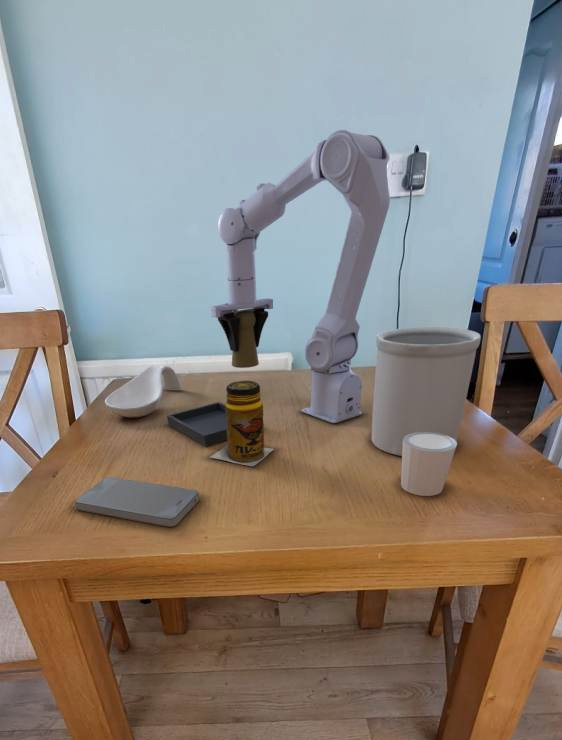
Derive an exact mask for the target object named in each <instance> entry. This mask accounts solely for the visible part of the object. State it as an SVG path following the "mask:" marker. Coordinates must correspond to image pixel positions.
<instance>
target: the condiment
mask: <svg viewBox="0 0 562 740" xmlns="http://www.w3.org/2000/svg"><path fill="white" fill-rule="evenodd" d="M225 390H226V401H225V403H224V404H225V411H226V427H227V440H226V441H227V442H226V443H227V444H226V445H225V446H224V447H223V448H221V449H219V451H216V452H215V453H214V454H212V455H211V456H210V457H209V458H210V459H215V460H221V461H226V462H230V463H233V464H238V465H243V466H247V467H255V466H256V465H257V464H259V463H260V462H261V461H263V460H264V459H265V458H266V457H267V456H269V454H270V453H272V451H274V448H271V447H270V448H269V447H265V431H264V430H265V427H264V425H265V424H264V403H263V400H262V399H261V386H260V384H259V383H258V382H256V381H253V380H238V381H233V382H231V383H230V382H229V384H228V385H227V386H226V389H225Z"/></svg>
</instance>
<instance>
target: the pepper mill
mask: <svg viewBox="0 0 562 740" xmlns="http://www.w3.org/2000/svg"><path fill="white" fill-rule="evenodd" d="M234 316H236V317H237V318H240V323H239V331H238V342H239V348H238V351H236V352H235V351H232V353H231V356H232V357H231V366H232V367H233V368H239V369H244V368H245V369H247V368H254V367H257V366H258V365H259V364H260V363H259V357H258V356H259V355H258V350H257V347H256V343H255V336H254V330H253V326H254V325H255V315H254V313H253V312H251V311H242V312H239V313H237V314H234Z"/></svg>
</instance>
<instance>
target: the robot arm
mask: <svg viewBox="0 0 562 740" xmlns="http://www.w3.org/2000/svg"><path fill="white" fill-rule="evenodd" d="M390 160H391V156H390V154H389V152H388V151H387V148H386V147H385V145H384V143H383V141H382V140H381V139H380V138H379V137H378V136H376V135H374V134H373V135H372V134H361V133H356V132H351V131H349V130H347V129H339V130H335V131H334V132H333V133H331V134H330V135H329V136H328V137H327V139H323V140H321V141H320V142H318V143H317V145H316V146H315V148H314V150H313V151H312V152H311V153H310V154H309V155H308V156H306V157H305V158H304V159H303V160H302V161H301V162H300V163H299V164H298V165H296V166H295V167H294V168H293V169H292V170H291V171H290V172H289V173H287V174H286V175H285V176H284V177H283V178H282V179H281V180H280V181H279V182H278V183H277V184H274V183H271V182H267V183H263V182H261V183H259V184H258V185H257V186H256V191H254V193H252V194H250V196H249V197H248V198H246V199H241V200H240V201H239V202H238V206H237V207H236V208H234V207H227V208H225V209H224V210H223V212H222V213H221V214H220V216H219V218H218V223H217V228H218V229H217V230H218V234H219V237H220V239H221V240H222V242H223V243H225V258H226V275H227V291H228V302H227V303H226V302H225V303H222V304H218V305H214V306H210V315H211V317H212V318H217V322H218V323H219V324H220V326H221V328H222V329H223V331H224V333H225V334H224V335H225V336H226V340H227V342H228V346H229V350H230V351H232V352H233V351H235V352H236V351H238V348H239V342H238V331H239V323H240V318H237V317H236V316H234V314H237V313H239V312H242V311H251V312H253V313H254V315H255V325H254V326H253V330H254V336H255V343H256V348H259V345H260V341H261V337H262V336H261V335H262V332H263V329H264V326H265V323H266V321H267V319H268V317H269V310H273V309H274V299H273V298H259V299H257V280H256V279H257V277H256V275H257V274H256V250H257V241H258V239H259V237H260V234H261V232H262V231H264V230H265V229H266V228H268V227H269V226H271V225H272V224H274V223H275V222H277V220H279V219H281V218H282V217H283V216H284V214H285V213H286V212H285V211H286V206H287V204H289V203H290V202H292V201H294V200H295V199H297V198H298V197H299V196H301V195H303V194H304V193H306V192H308V191H309V190H311V189H312V188H314V187H315V186H317V185H318V184H320V183H321V182H324V181H327V182H328V183H329V184H330V185H332V186H333V187H334V188H335V189H336V190H337V191H338V192H339V193H340V194H341V195H342V196H343V198H344V200H345V202H346V203H347V205H348V207H349V210H350V217H349V221H348V225H347V229H346V232H345V236H344V240H343V244H342V248H341V252H340V255H339V258H338V259H339V260H338V263H337V267H336V271H335V274H334V280H333V283H332V286H331V287H332V288H331V290H330V295H329V298H328V302H327V306H326V311H325V313H324V314H323V316H322V317H321V318H320V320H319V321H318V322H317V324H316V325H315V327H314V330H313V333H312V335H311V337H310V338H309V340H308V341H307V342H306V344H305V348H304V357H305V360H306V362H307V365H308V366H310V371H311V383H310V384H311V389H310V406H308V407H305V408H302V409H301V412H302V413H304V414H305V415H310V416H311V417H314V418H317V419H320V420H323V421H325V422H328V423H331V424H337V423H340V422H343V421H346V420H349V419H352V418H355V417H358V416H361V415H363V411H361V410H360V409H361V397H362V385H363V384H362V379H361V377H360V376H359V375H358V374H356V373H354V372H353V371H352V370H351V365H352V359H353V358H354V357H355V356H356V354H357V353H358V349H359V337H358V335H359V331H360V327H361V326H360V324H359V322H358V321H357V319H356V317H357V313H358V311H359V309H360V308H359V307H360V304H361V301H362V298H363V294H364V291H365V287H366V285H367V281H368V278H369V275H370V272H371V269H372V265H373V261H374V258H375V254H376V251H377V247H378V245H379V242H380V238H381V234H382V232H383V228H384V226H385V225H384V224H385V223H386V218H387V215H388V212H389V208H390V203H391V195H390V185H389V174H388V172H389V171H388V167H389V163H390Z"/></svg>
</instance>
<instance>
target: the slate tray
mask: <svg viewBox="0 0 562 740" xmlns="http://www.w3.org/2000/svg"><path fill="white" fill-rule="evenodd" d="M225 404H226V403H224V402H221V401H217V402H216V401H215V402H213V403H209V404H205V405H201V406H198V407H193V408H190V409H185V410H182V411H178V412H175V413H171V414H167V415H166V418H167V425H168V427H171V428H172V429H174V430H175V431H177V432H179V433H181V434H182V435H185V436H186V437H188V438H189V439H191V440H192V441H195V442H196V443H198V444H200V445H202V446H203V447H205V448H206V447H207V448H208V447H210V446H212V445H216V444H219V443H222V442H225V441H227V427H226V411H225Z"/></svg>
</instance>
